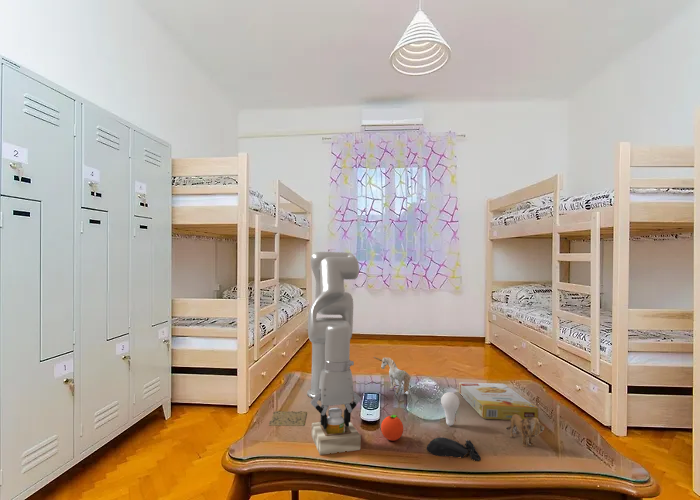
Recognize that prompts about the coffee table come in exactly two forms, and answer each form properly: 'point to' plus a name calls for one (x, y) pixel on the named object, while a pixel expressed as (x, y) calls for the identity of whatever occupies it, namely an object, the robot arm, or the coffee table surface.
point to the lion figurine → (526, 428)
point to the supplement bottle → (335, 421)
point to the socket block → (335, 439)
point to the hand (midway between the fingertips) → (335, 425)
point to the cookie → (288, 418)
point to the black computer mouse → (452, 448)
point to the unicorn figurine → (396, 374)
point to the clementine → (392, 428)
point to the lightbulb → (450, 406)
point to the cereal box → (496, 401)
